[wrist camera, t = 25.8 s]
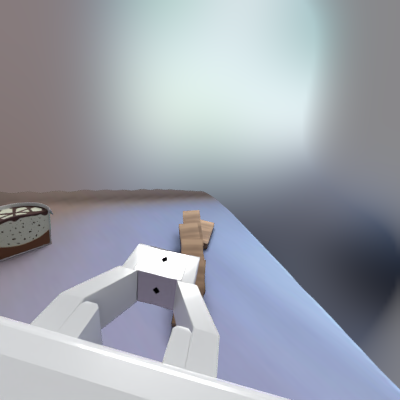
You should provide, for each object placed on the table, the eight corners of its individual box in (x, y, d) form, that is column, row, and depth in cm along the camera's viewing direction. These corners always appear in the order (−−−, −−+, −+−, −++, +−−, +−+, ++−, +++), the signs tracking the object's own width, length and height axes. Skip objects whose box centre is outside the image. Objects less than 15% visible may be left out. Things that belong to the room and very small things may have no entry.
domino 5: (207, 243, 54) (214, 223, 65) (190, 239, 55) (200, 219, 66) (206, 250, 55) (213, 229, 66) (189, 246, 56) (199, 225, 67)
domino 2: (205, 264, 45) (197, 222, 53) (184, 267, 44) (178, 224, 52) (204, 268, 47) (196, 227, 55) (183, 271, 46) (178, 229, 54)
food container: (50, 230, 52) (43, 197, 48) (58, 241, 49) (51, 206, 45) (-17, 250, 43) (-32, 211, 39) (-12, 265, 40) (-28, 224, 36)
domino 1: (203, 245, 51) (199, 210, 59) (184, 247, 50) (182, 211, 58) (203, 249, 53) (198, 215, 61) (185, 251, 52) (183, 215, 60)
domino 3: (205, 291, 39) (202, 239, 47) (180, 291, 38) (181, 238, 46) (203, 295, 40) (201, 244, 49) (179, 295, 40) (181, 243, 48)
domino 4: (201, 327, 33) (205, 260, 41) (171, 323, 32) (182, 257, 41) (199, 329, 34) (204, 265, 42) (171, 325, 34) (181, 262, 42)
